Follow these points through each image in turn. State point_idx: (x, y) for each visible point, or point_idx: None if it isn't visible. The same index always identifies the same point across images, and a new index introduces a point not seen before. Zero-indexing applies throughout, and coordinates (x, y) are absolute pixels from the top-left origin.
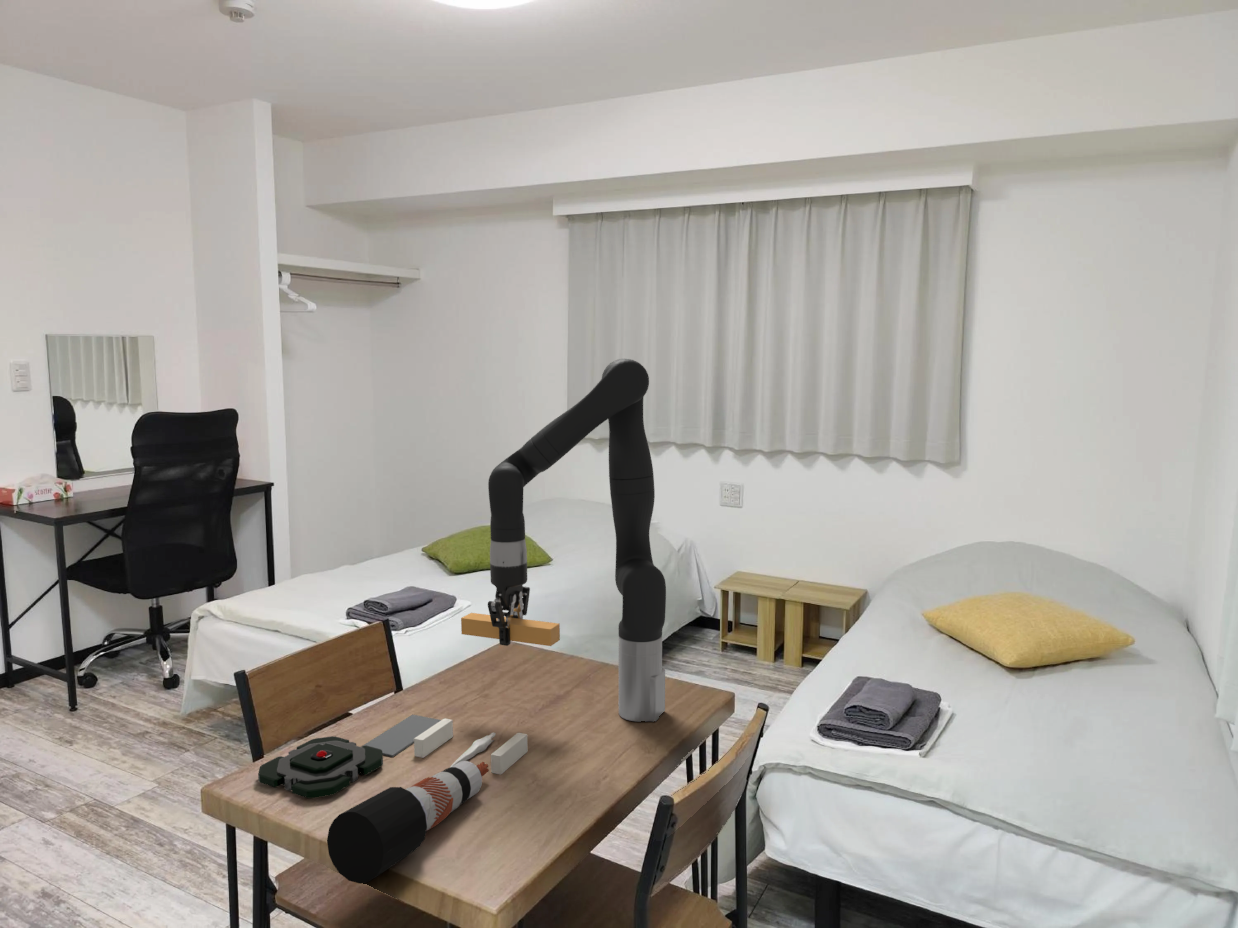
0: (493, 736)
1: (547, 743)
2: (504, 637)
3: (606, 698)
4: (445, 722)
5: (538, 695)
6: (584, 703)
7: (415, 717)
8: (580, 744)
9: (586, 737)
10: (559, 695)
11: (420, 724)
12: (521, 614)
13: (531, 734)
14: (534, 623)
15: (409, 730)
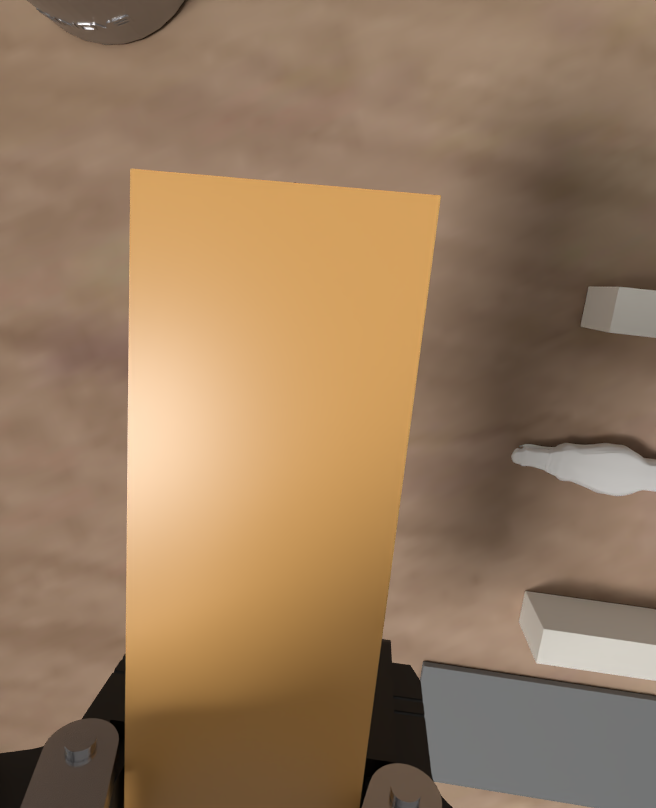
0: (533, 449)
1: (501, 237)
2: (421, 717)
3: (18, 154)
4: (573, 643)
5: (96, 437)
6: (100, 229)
7: None
8: (479, 97)
9: (409, 96)
10: (65, 359)
11: (474, 723)
12: (58, 783)
13: (439, 329)
14: (243, 527)
15: (527, 736)
